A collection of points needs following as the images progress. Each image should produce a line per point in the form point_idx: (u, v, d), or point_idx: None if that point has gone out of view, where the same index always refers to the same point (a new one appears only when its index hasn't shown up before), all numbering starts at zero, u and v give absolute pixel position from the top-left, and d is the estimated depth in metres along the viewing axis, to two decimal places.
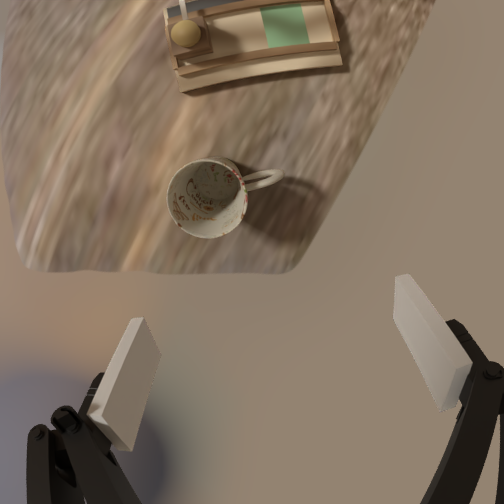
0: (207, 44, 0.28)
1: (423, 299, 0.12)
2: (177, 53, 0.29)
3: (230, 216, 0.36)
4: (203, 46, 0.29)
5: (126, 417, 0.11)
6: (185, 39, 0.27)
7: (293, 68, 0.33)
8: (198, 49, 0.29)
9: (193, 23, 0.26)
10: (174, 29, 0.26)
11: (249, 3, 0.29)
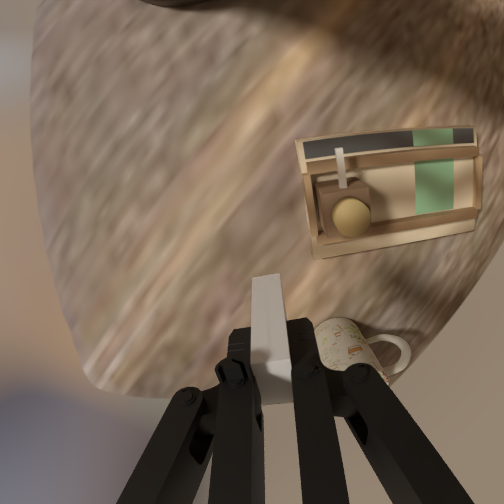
0: (370, 228, 0.26)
1: (277, 297, 0.15)
2: (333, 236, 0.27)
3: None
4: (365, 230, 0.26)
5: None
6: (353, 229, 0.25)
7: (433, 236, 0.31)
8: None
9: (365, 208, 0.24)
10: (341, 213, 0.24)
11: (408, 157, 0.26)
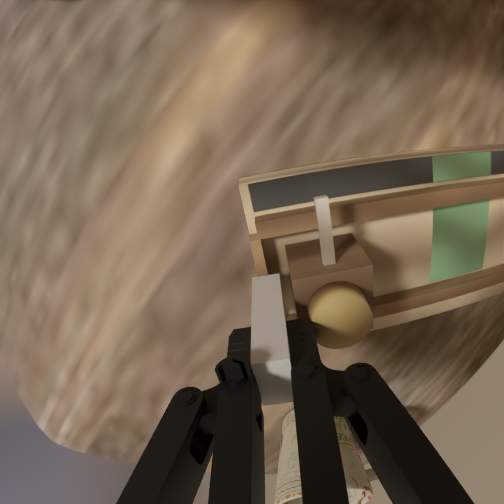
0: None
1: (277, 297, 0.15)
2: None
3: None
4: None
5: None
6: (341, 338, 0.15)
7: (451, 308, 0.21)
8: None
9: (364, 307, 0.14)
10: (321, 318, 0.14)
11: (425, 202, 0.16)
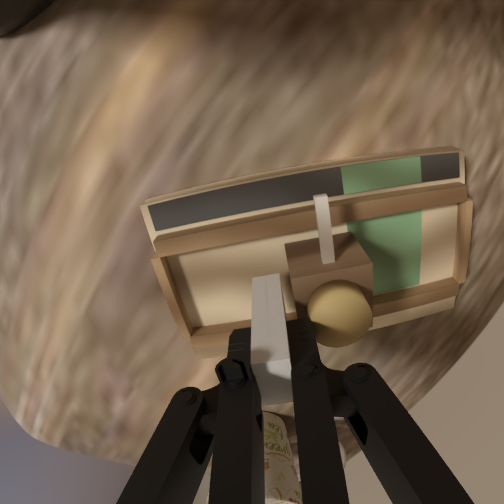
0: (370, 323, 0.16)
1: (277, 297, 0.15)
2: None
3: None
4: None
5: None
6: (341, 337, 0.15)
7: (384, 325, 0.21)
8: None
9: (363, 305, 0.14)
10: (320, 317, 0.14)
11: (330, 217, 0.17)
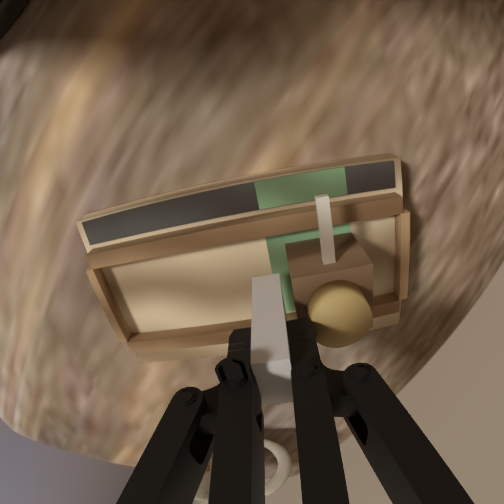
0: None
1: (277, 297, 0.15)
2: None
3: None
4: None
5: None
6: (341, 337, 0.15)
7: None
8: None
9: (364, 306, 0.14)
10: (321, 317, 0.14)
11: (242, 233, 0.17)
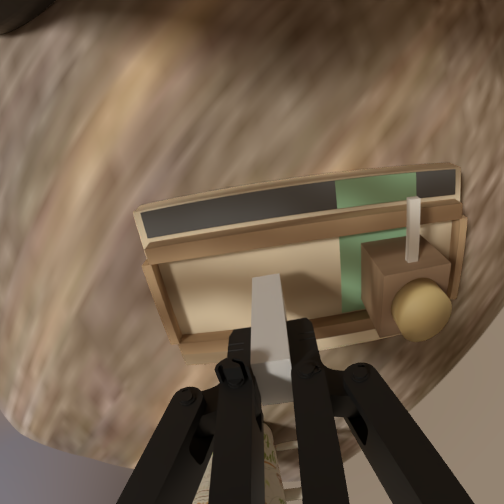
0: None
1: (277, 297, 0.15)
2: (388, 334, 0.16)
3: None
4: None
5: None
6: (423, 332, 0.14)
7: (373, 339, 0.21)
8: None
9: (447, 301, 0.13)
10: (411, 312, 0.14)
11: (322, 231, 0.17)
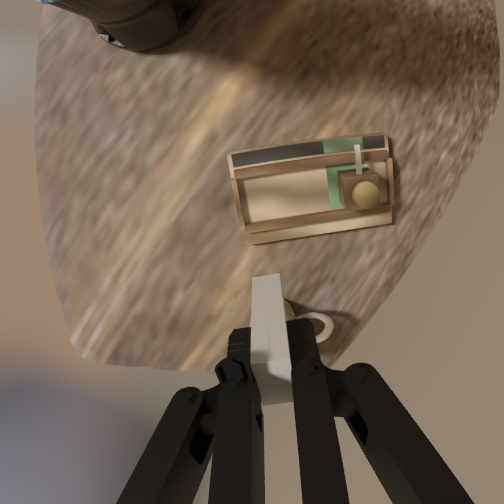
0: (379, 204, 0.35)
1: (277, 297, 0.15)
2: (352, 209, 0.35)
3: None
4: (375, 206, 0.35)
5: None
6: (367, 203, 0.33)
7: (349, 228, 0.40)
8: None
9: (376, 188, 0.32)
10: (359, 191, 0.33)
11: (317, 162, 0.36)
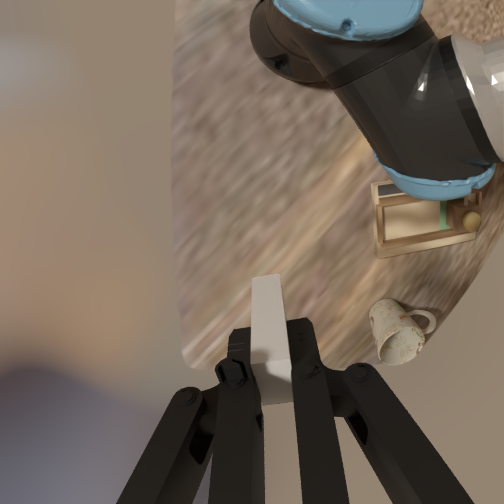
0: None
1: (277, 297, 0.15)
2: (460, 232, 0.41)
3: (402, 346, 0.49)
4: None
5: None
6: (472, 228, 0.39)
7: (449, 243, 0.47)
8: None
9: (479, 217, 0.38)
10: (469, 219, 0.39)
11: None
